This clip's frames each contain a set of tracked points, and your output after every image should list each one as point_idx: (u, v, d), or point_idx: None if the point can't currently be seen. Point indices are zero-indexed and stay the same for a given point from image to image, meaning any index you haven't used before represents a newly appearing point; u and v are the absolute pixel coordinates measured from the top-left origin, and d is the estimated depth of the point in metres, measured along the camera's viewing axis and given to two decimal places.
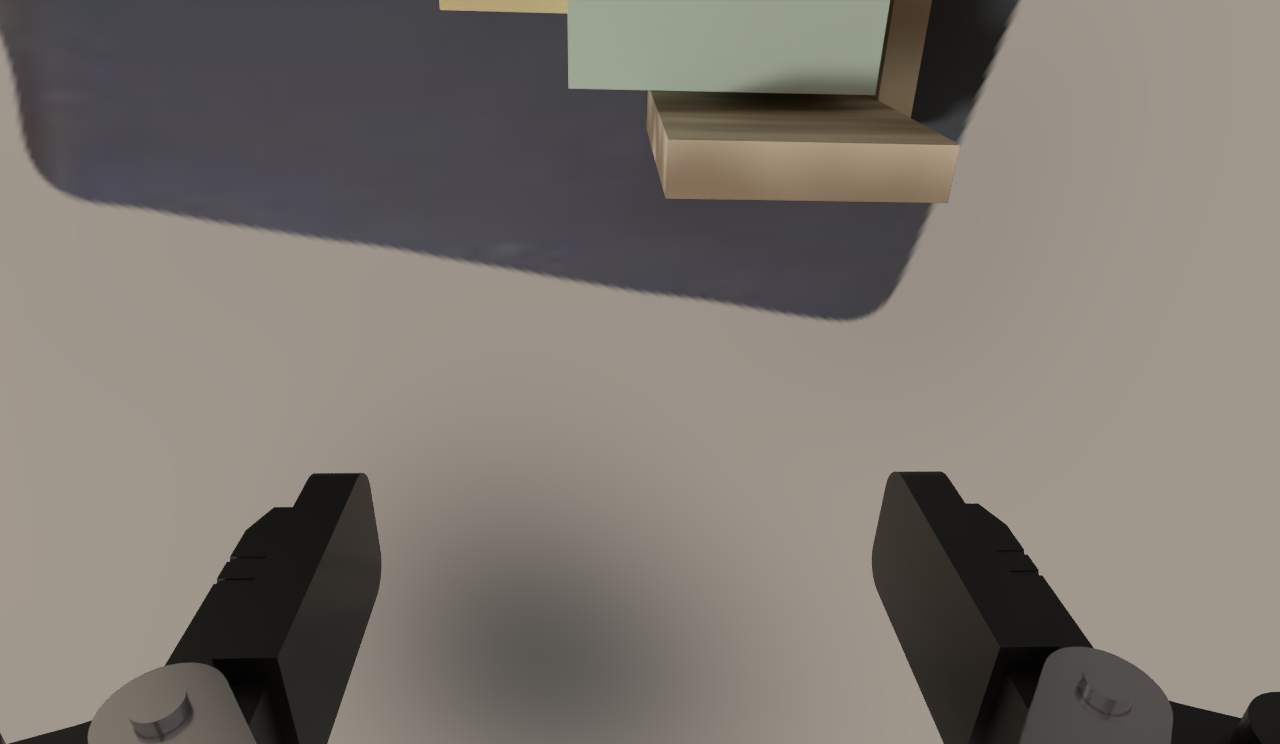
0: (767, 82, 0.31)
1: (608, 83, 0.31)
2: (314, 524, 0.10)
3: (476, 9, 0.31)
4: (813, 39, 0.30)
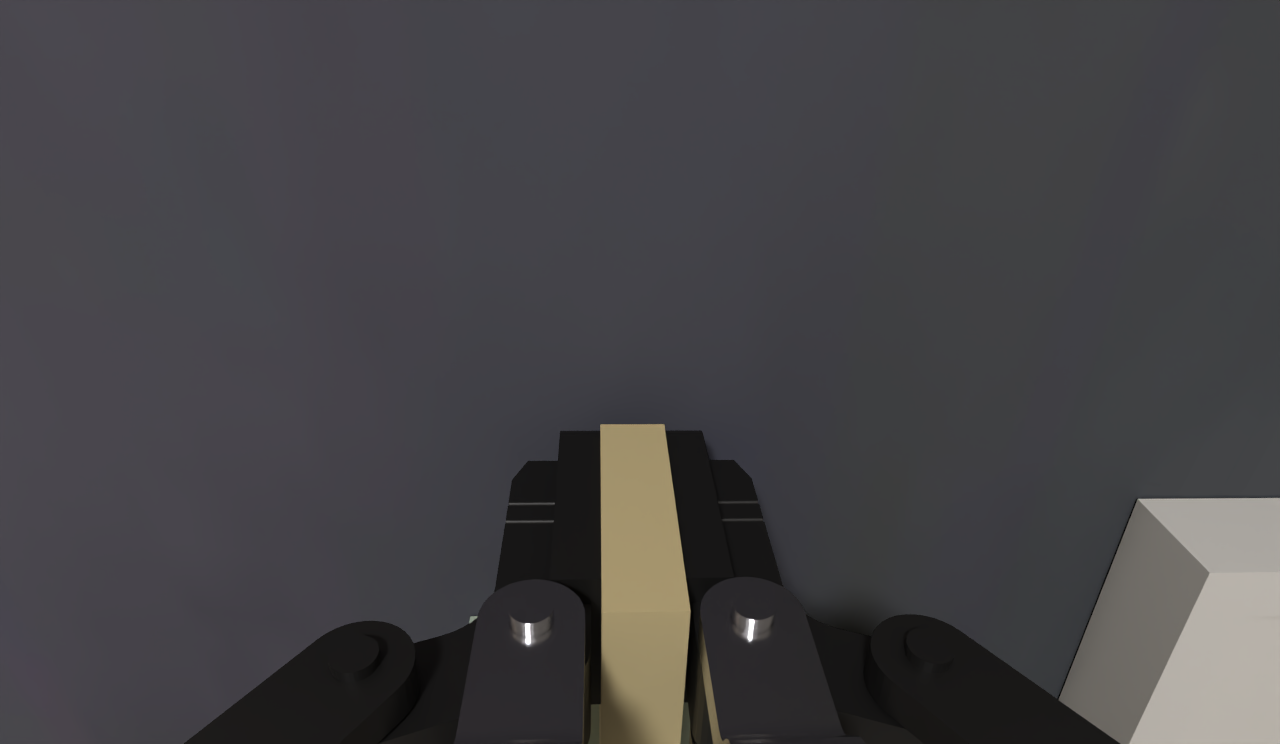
0: None
1: None
2: (584, 472, 0.12)
3: (605, 700, 0.10)
4: None
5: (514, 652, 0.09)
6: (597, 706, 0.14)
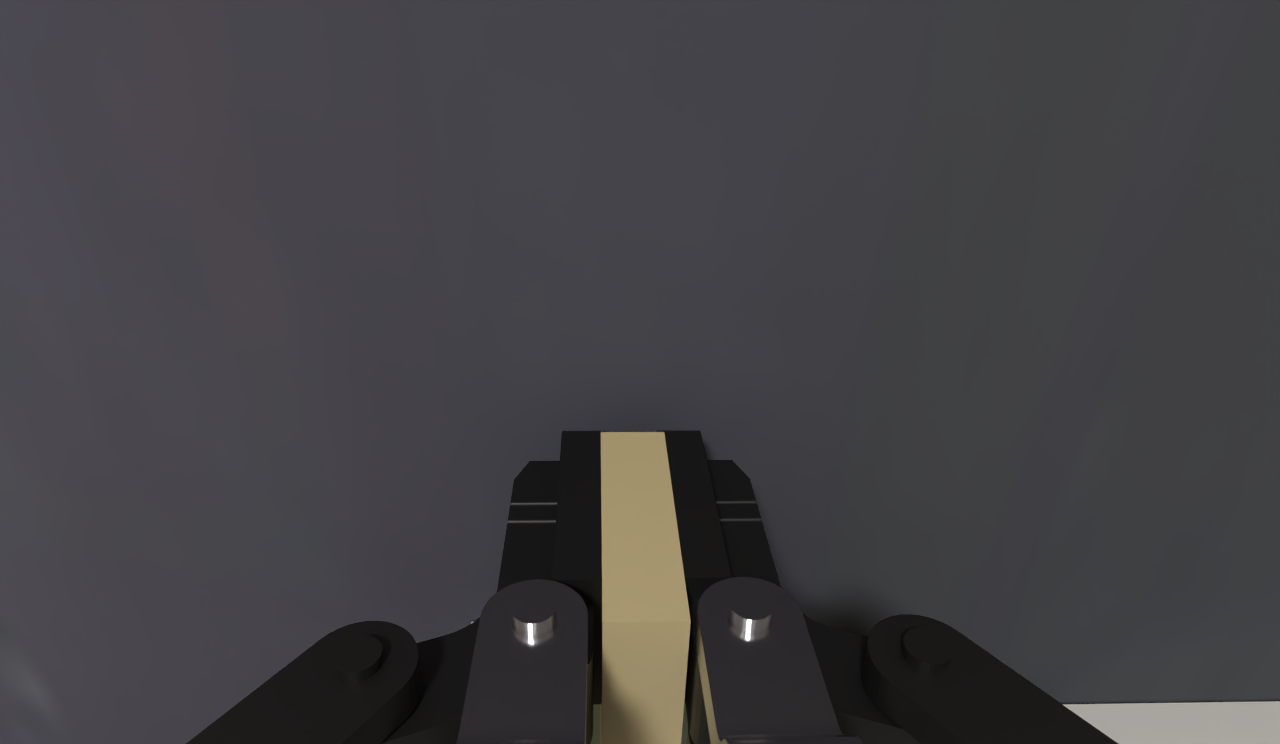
0: None
1: None
2: (586, 472, 0.12)
3: (606, 708, 0.10)
4: None
5: (517, 652, 0.09)
6: (597, 712, 0.14)
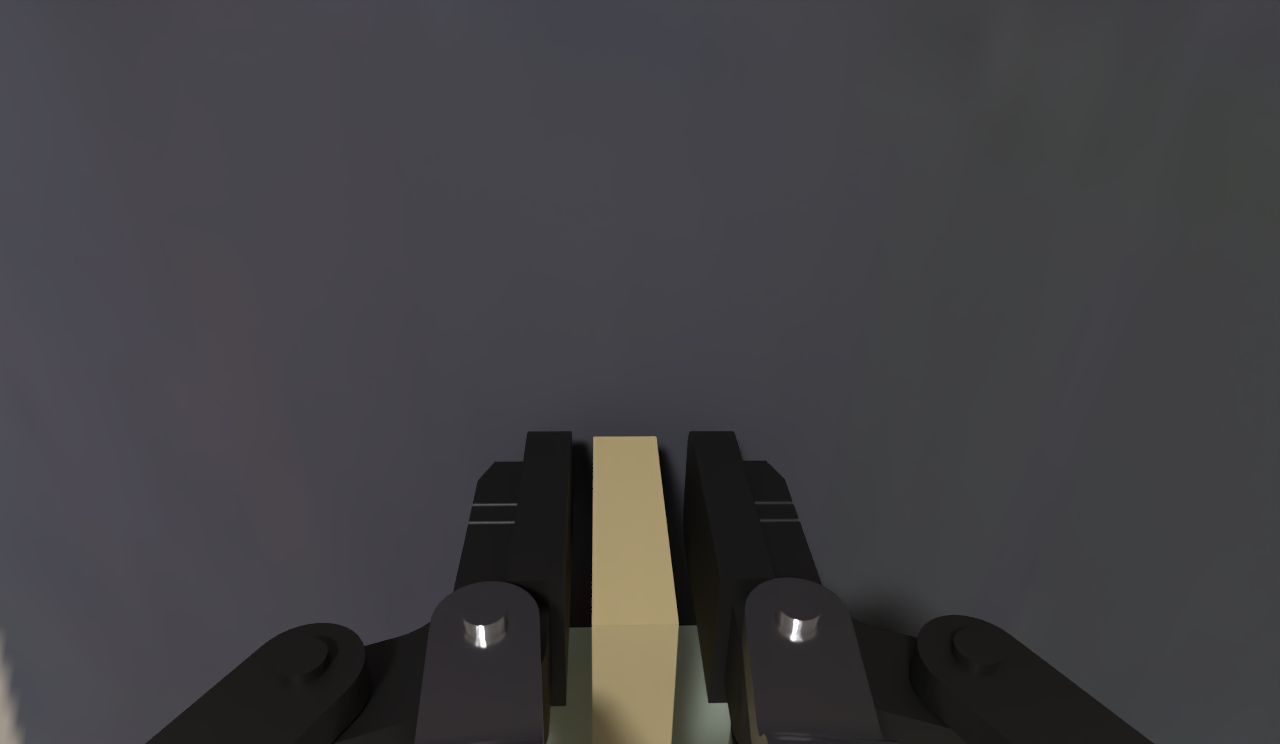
0: None
1: None
2: (548, 473, 0.12)
3: (596, 710, 0.10)
4: None
5: (465, 654, 0.08)
6: (592, 713, 0.14)
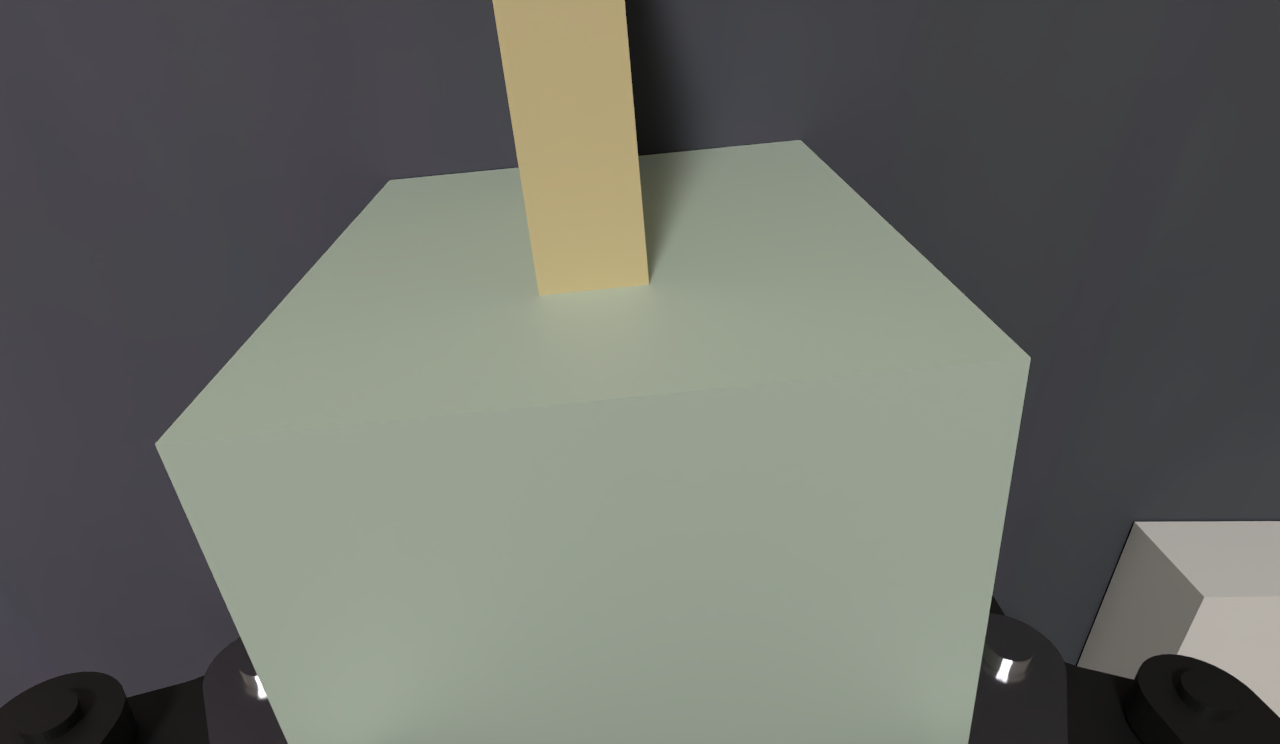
0: None
1: (255, 607, 0.06)
2: None
3: None
4: None
5: (234, 706, 0.08)
6: None
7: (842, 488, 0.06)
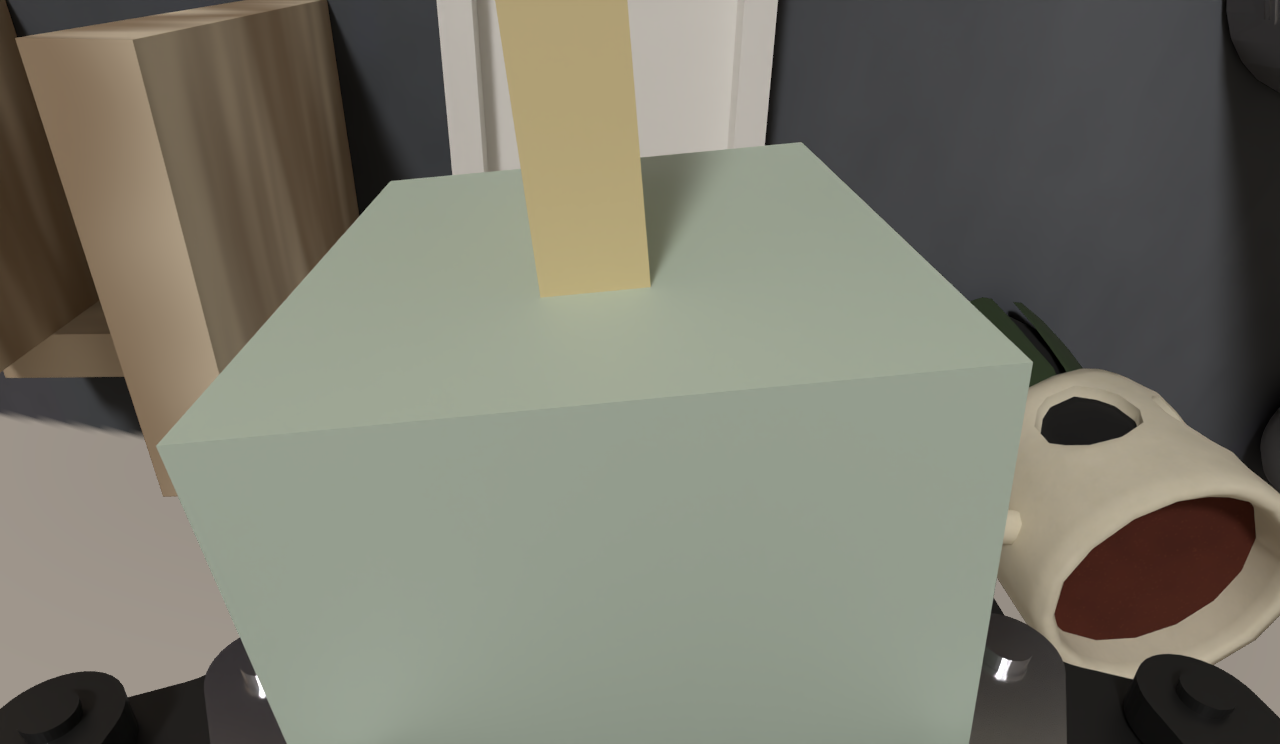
0: None
1: (256, 609, 0.06)
2: None
3: None
4: None
5: (235, 706, 0.08)
6: None
7: (844, 491, 0.06)
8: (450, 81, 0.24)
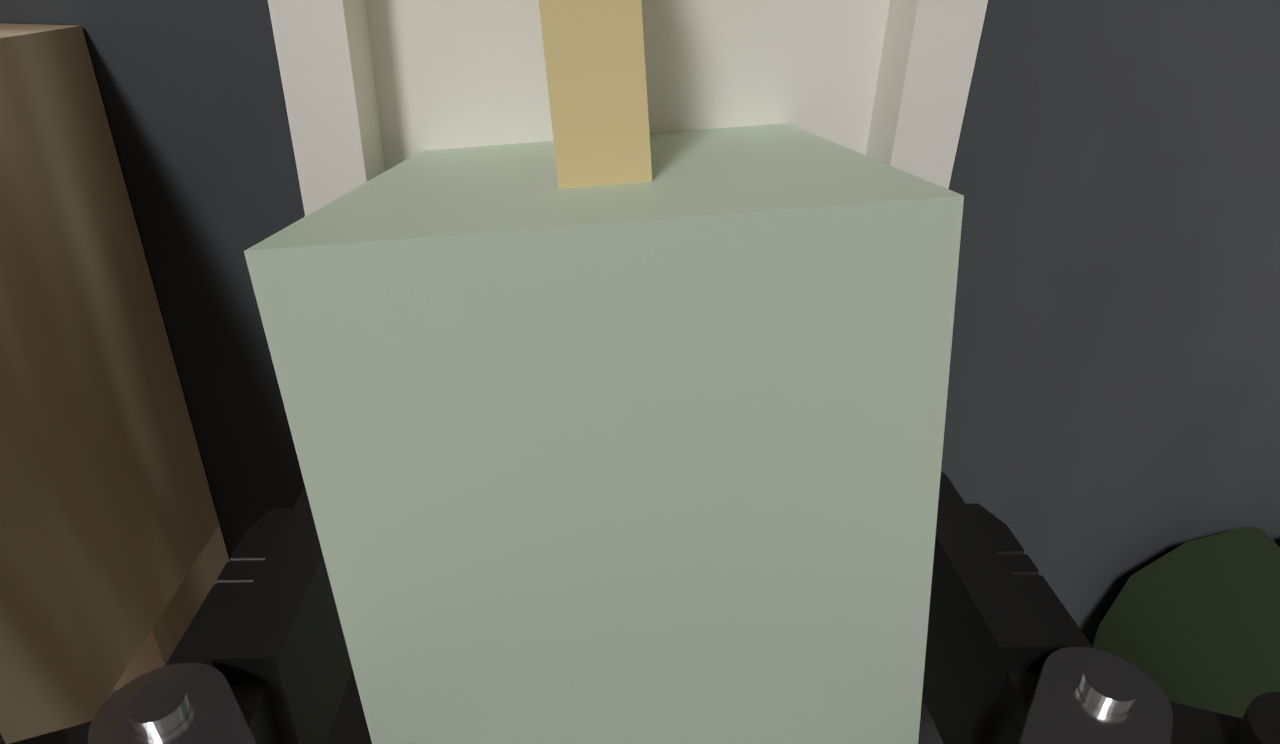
0: None
1: (311, 416, 0.07)
2: (314, 524, 0.10)
3: None
4: None
5: None
6: None
7: (812, 315, 0.07)
8: (314, 194, 0.12)
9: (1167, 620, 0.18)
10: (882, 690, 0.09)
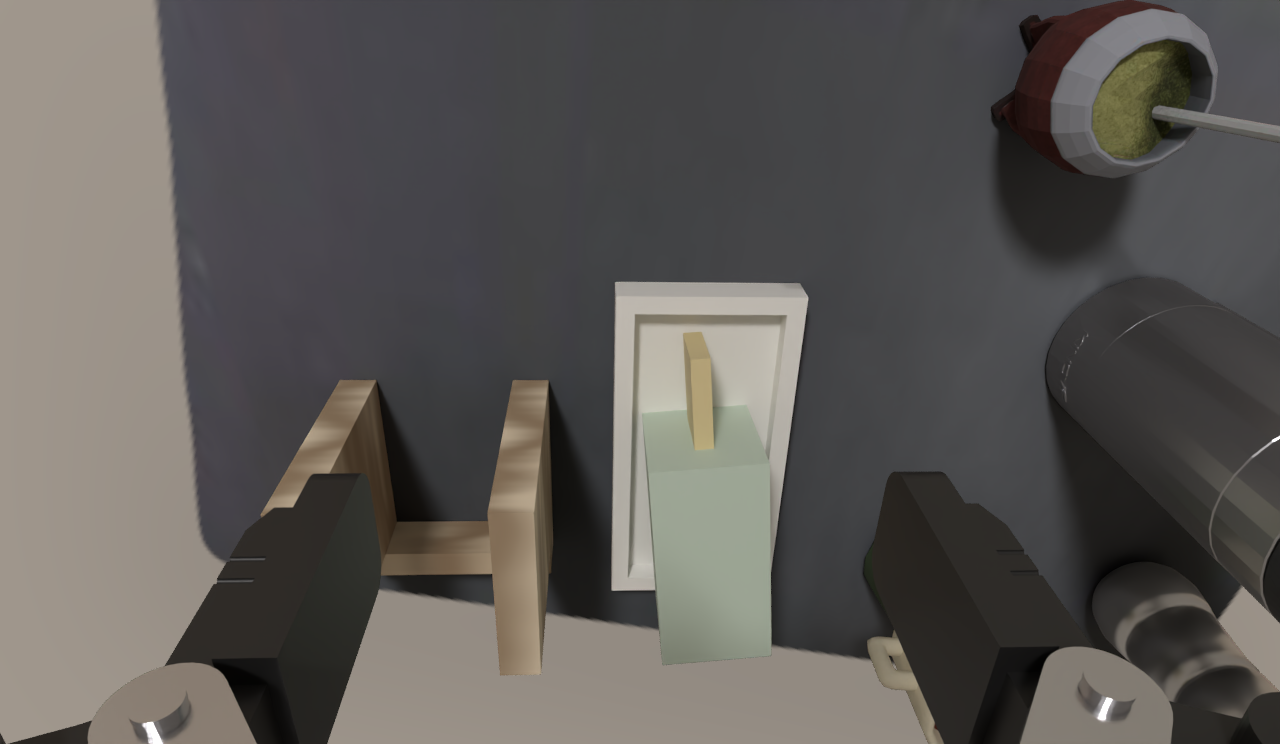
0: (664, 600, 0.42)
1: (654, 499, 0.40)
2: (314, 524, 0.10)
3: (692, 386, 0.40)
4: (696, 622, 0.43)
5: None
6: (688, 426, 0.44)
7: (744, 482, 0.40)
8: (617, 430, 0.45)
9: None
10: (762, 554, 0.41)
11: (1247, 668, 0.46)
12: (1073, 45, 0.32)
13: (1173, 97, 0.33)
